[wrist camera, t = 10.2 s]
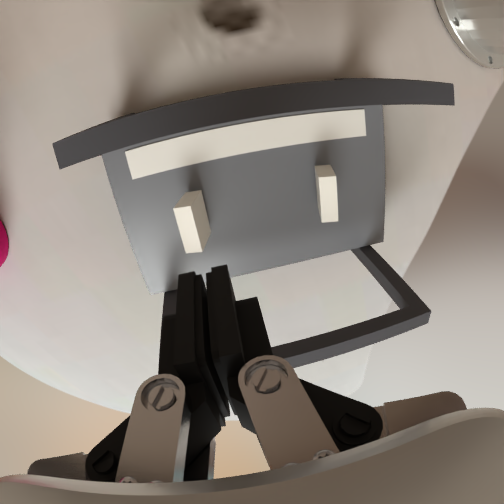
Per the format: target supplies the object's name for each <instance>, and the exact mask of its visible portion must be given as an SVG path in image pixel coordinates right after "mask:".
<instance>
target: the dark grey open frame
mask: <svg viewBox="0 0 504 504" xmlns="http://www.w3.org/2000/svg"><path fill="white" fill-rule="evenodd" d="M397 104H427V105H454V86H453V84H451V83H442V82H432V81H421V80H406V79H382V78H343V79H335V80H330V81H314V82H302V83H291V84H282V85H273V86H266V87H258V88H251V89H245V90H238V91H232V92H227V93H221V94H216V95H211V96H206V97H201V98H196V99H192V100H187V101H183V102H179V103H174V104H170V105H166V106H162V107H159V108H155V109H151V110H147V111H144V112H140V113H137V114H135V113H132V114H128V115H125V116H122V117H119V118H116V119H113V120H110V121H107V122H105V123H102V124H99V125H97V126H94V127H91V128H89V129H86V130H84V131H81V132H79V133H76V134H74V135H71V136H69V137H66V138H64V139H62V140H60V141H57V142H55V143H53V148H54V151H55V155H56V158H57V162H58V165H59V168H60V169H62V168H65V167H68V166H70V165H73V164H76V163H79V162H82V161H84V160H87V159H90V158H93V157H96V156H99V155H102V154H105V153H108V152H112V151H115V150H118V149H121V148H125V147H128V146H131V145H135V144H138V143H142V142H145V141H149V140H153V139H156V138H160V137H164V136H168V135H172V134H176V133H180V132H184V131H189V130H193V129H197V128H202V127H207V126H212V125H216V124H221V123H227V122H232V121H237V120H243V119H249V118H255V117H261V116H267V115H274V114H281V113H289V112H297V111H305V110H315V109H325V108H336V107H350V106H367V105H397ZM351 251H352V252H353V253H354V254H355V255H356V256H357V258H358V259H359V260H360V261H361V262H362V263H363V265H364V266H365V267H366V268H367V269H368V270H369V272H370V273H371V274H372V275H373V276H374V278H375V279H376V280H377V281H378V282H379V283H380V285H381V286H382V287H383V288H384V290H385V291H386V292H387V293H388V294H389V296H390V297H391V298H392V299H393V301H394V302H395V303H396V304H397V306H398V307H399V308H400V310H397V311H394V312H391V313H388V314H385V315H382V316H379V317H376V318H373V319H370V320H367V321H364V322H361V323H358V324H354V325H351V326H348V327H344V328H341V329H338V330H334V331H331V332H327V333H324V334H320V335H317V336H313V337H310V338H306V339H302V340H298V341H295V342H291V343H287V344H283V345H279V346H275V347H271V350H272V353H273V355H274V356H278V357H281V358H283V359H285V360H286V361H288V362H289V364H290V365H291V366H292V367H293V368H295V367H299V366H303V365H306V364H310V363H314V362H317V361H321V360H324V359H327V358H331V357H334V356H337V355H341V354H344V353H347V352H350V351H353V350H356V349H359V348H362V347H365V346H368V345H371V344H374V343H377V342H380V341H382V340H385V339H388V338H391V337H393V336H396V335H399V334H402V333H404V332H407V331H409V330H412V329H414V328H417V327H419V326H422V325H424V324H427V323H428V321H429V317H430V314H431V310H430V309H429V308H428V307H427V306H426V305H425V303H424V302H423V301H422V300H421V299H420V298H419V297H418V296H417V295H416V293H415V292H414V291H413V290H412V289H411V288H410V287H409V286H408V285H407V283H405V281H404V280H403V279H402V278H401V277H400V276H399V275H398V274H397V273H396V272H395V271H394V270H393V268H392V267H391V266H390V265H389V264H388V263H387V262H386V261H385V260H384V259H383V258H382V257H381V256H380V255H379V254H378V253H377V252H376V251H375V250H374V249H373V248H372V247H371V246H370V245H368V246H364V247H359V248H355V249H351ZM176 301H177V289H176V290H172V291H167V292H165V293H164V304H163V314H162V324H163V317H164V316H165V315H170V314H175V313H176ZM161 335H162V326H161ZM160 346H161V339H160ZM159 358H160V354H159ZM158 372H159V371H158Z"/></svg>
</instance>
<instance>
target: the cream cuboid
mask: <svg viewBox="0 0 504 504" xmlns="http://www.w3.org/2000/svg"><path fill="white" fill-rule="evenodd" d="M315 177H316V189H317V202H318V209H319V213H320V217H321V222H322V223H324V222H336V221H338V200H337V181H336V175H335V173H334V171H333V169H332V167H331V165H318V166H315Z"/></svg>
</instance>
